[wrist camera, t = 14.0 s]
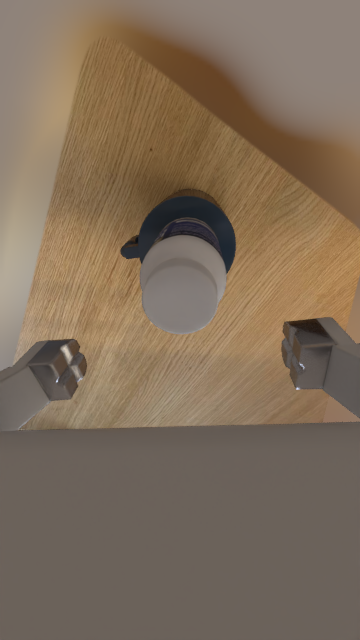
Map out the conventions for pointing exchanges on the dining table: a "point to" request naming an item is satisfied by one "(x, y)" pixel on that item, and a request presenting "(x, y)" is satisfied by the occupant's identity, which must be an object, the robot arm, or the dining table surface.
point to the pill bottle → (183, 277)
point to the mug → (184, 206)
